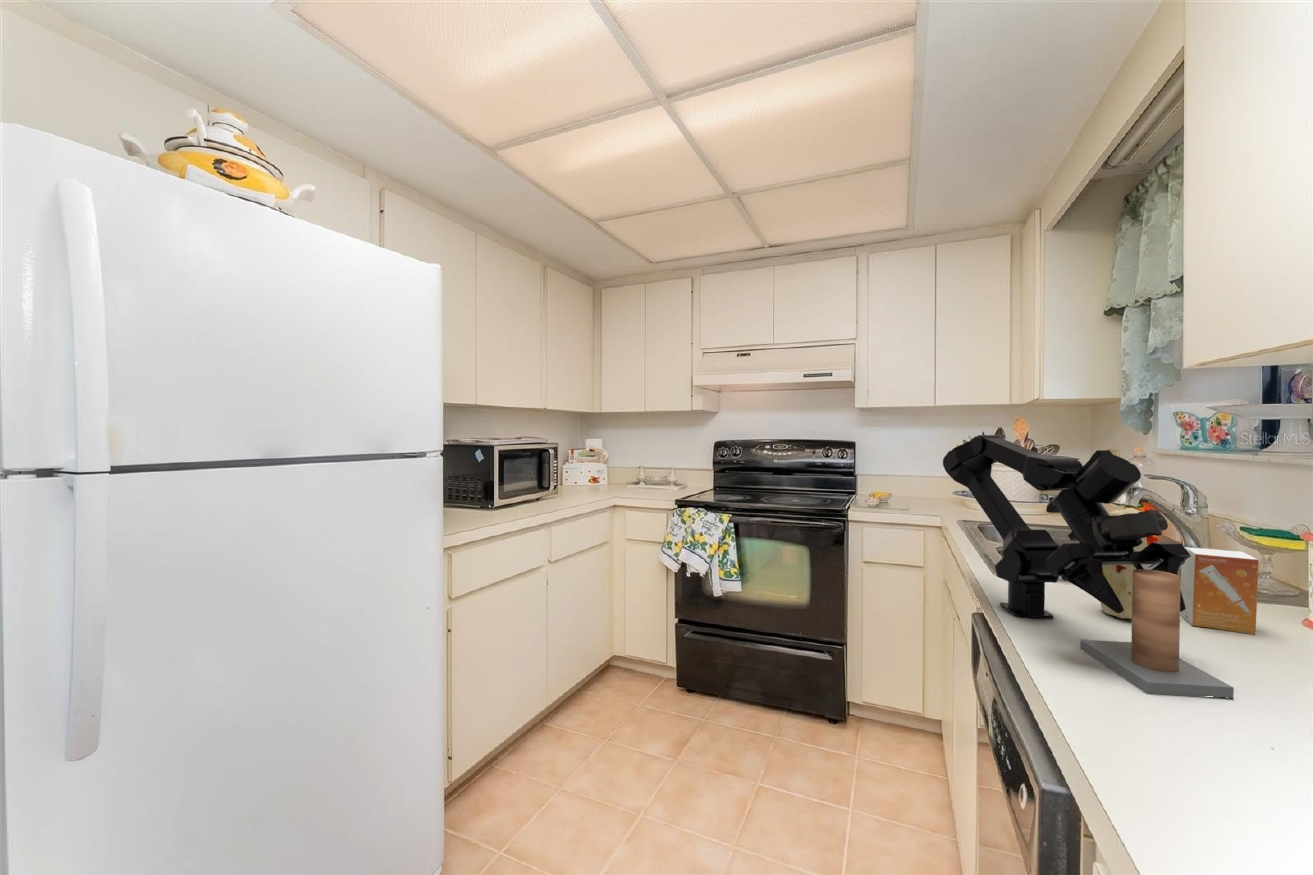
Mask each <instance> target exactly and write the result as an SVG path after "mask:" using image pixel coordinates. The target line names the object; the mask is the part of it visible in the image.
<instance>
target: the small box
mask: <svg viewBox="0 0 1313 875" xmlns="http://www.w3.org/2000/svg"><path fill="white" fill-rule="evenodd" d="M1184 548H1185V549H1186V550H1187V551H1188V552H1189V554H1190V555H1191V557H1189V558H1188V559H1186V560H1185V563H1184V564H1183V565H1181V571H1180V572H1181V573H1180V574H1181V576H1180V577H1181V584H1180V589H1181V592H1182V596H1183V600H1184V604H1185V607H1186V609H1185V610H1184V611H1182V612H1180V617H1182V618H1183V619H1184V620H1185V621H1186V622H1188V623H1189V624H1190V625H1192V626H1194V627H1203V628H1210V629H1216V630H1223V631H1229V632H1237V633H1243V634H1249V635H1256V632H1257V631H1256V630H1257V629H1256V628H1257V611H1258V610H1257V609H1258V608H1257V607H1258V588H1259V585H1258V583H1259V582H1258V581H1259V566H1260V565H1259V562H1260V561H1259V559H1257V558H1256V557H1254V556H1252V555H1250V554H1248V553H1245V552H1244V551H1237V550H1234V551H1233V550H1224V549H1214V548H1198V547H1188V546H1184Z"/></svg>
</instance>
